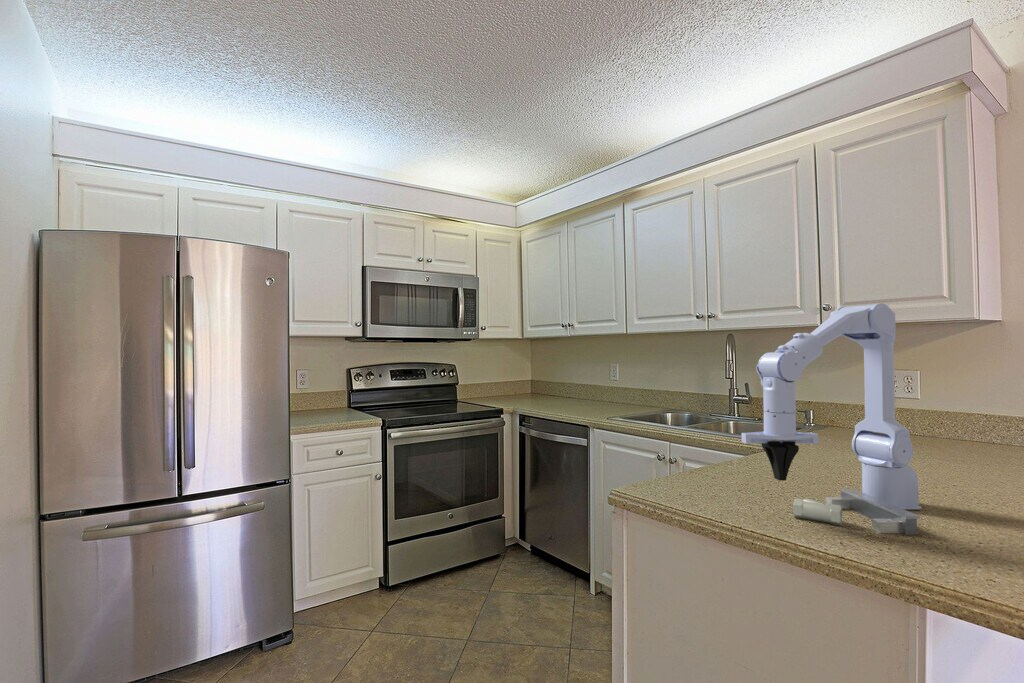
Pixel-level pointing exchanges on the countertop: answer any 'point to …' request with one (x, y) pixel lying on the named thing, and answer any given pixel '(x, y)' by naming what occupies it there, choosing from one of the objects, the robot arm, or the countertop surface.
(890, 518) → the grey bracket
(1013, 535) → the countertop surface
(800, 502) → the pipe fitting
